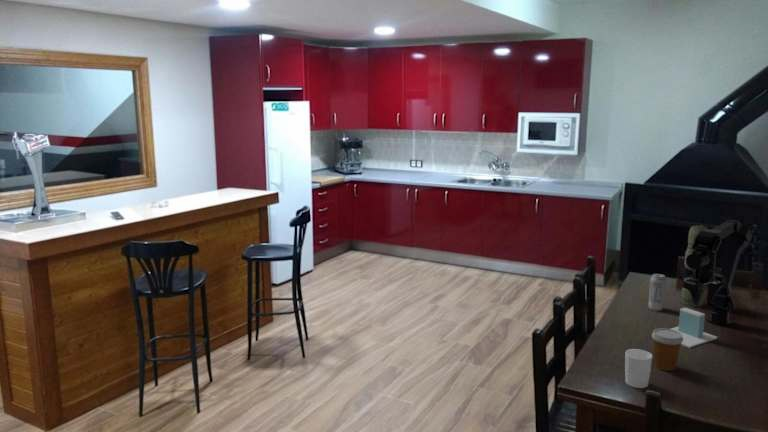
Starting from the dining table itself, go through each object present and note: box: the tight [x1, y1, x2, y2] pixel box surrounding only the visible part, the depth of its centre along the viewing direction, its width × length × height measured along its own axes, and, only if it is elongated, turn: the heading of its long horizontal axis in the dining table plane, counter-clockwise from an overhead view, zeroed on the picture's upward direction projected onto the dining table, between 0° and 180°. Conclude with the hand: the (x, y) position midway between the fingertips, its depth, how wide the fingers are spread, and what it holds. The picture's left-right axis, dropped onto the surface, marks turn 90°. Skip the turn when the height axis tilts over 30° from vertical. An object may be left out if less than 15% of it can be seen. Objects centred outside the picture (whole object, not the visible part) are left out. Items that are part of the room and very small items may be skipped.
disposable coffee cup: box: [651, 327, 683, 372], centre depth 193 cm, size 10×10×12 cm
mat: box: [670, 325, 719, 349], centre depth 218 cm, size 17×14×1 cm
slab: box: [678, 307, 706, 338], centre depth 219 cm, size 3×8×9 cm, turn 29°
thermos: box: [680, 224, 709, 308], centre depth 250 cm, size 9×12×35 cm
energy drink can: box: [647, 273, 667, 312], centre depth 246 cm, size 6×6×15 cm
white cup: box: [624, 348, 654, 389], centre depth 182 cm, size 8×8×10 cm
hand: (702, 303), depth 220 cm, fingers open, 8 cm apart
